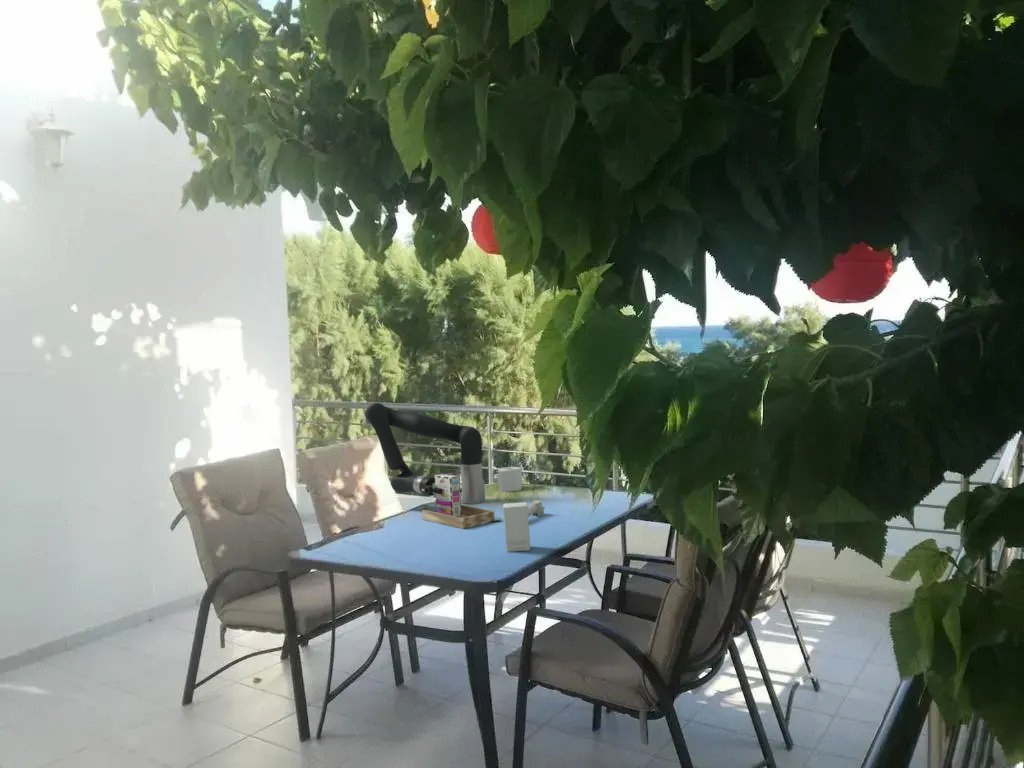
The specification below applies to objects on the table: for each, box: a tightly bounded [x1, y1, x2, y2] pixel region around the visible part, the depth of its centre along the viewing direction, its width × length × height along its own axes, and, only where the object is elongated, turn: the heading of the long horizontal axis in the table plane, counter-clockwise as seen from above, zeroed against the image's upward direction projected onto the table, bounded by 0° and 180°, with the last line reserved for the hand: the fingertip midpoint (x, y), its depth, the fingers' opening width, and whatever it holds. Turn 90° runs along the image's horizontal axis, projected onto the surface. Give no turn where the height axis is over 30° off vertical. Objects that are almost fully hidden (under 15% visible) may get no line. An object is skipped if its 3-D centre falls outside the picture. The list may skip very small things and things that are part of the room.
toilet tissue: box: [497, 466, 523, 493], centre depth 388 cm, size 11×12×10 cm
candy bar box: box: [434, 473, 462, 517], centre depth 332 cm, size 11×5×16 cm, turn 41°
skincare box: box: [503, 501, 531, 553], centre depth 280 cm, size 8×7×16 cm
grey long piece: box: [527, 499, 545, 518], centre depth 323 cm, size 5×7×25 cm
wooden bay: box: [421, 504, 496, 530], centre depth 328 cm, size 16×26×4 cm, turn 43°
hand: (450, 489), depth 331 cm, fingers open, 8 cm apart
